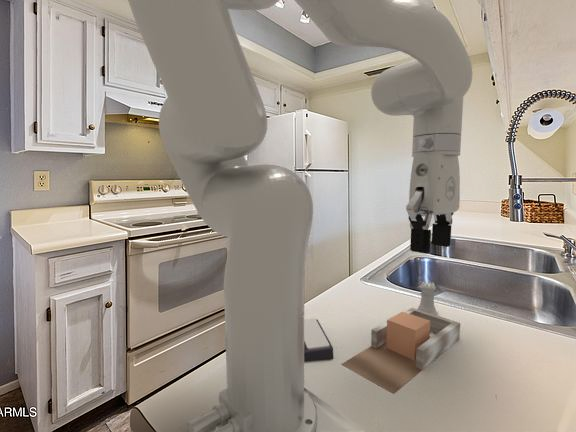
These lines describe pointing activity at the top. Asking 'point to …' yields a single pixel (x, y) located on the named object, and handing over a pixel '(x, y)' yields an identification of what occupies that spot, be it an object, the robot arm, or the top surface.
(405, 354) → the block
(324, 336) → the calculator
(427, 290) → the rook chess piece
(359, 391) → the top surface
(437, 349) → the metal sorting tray
